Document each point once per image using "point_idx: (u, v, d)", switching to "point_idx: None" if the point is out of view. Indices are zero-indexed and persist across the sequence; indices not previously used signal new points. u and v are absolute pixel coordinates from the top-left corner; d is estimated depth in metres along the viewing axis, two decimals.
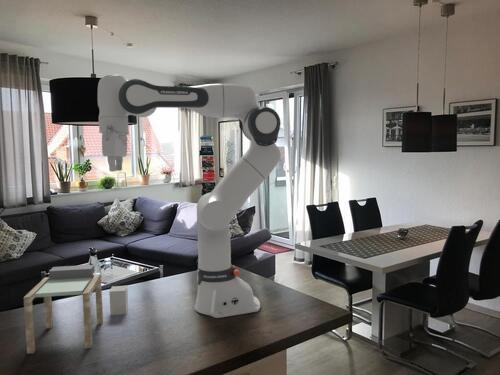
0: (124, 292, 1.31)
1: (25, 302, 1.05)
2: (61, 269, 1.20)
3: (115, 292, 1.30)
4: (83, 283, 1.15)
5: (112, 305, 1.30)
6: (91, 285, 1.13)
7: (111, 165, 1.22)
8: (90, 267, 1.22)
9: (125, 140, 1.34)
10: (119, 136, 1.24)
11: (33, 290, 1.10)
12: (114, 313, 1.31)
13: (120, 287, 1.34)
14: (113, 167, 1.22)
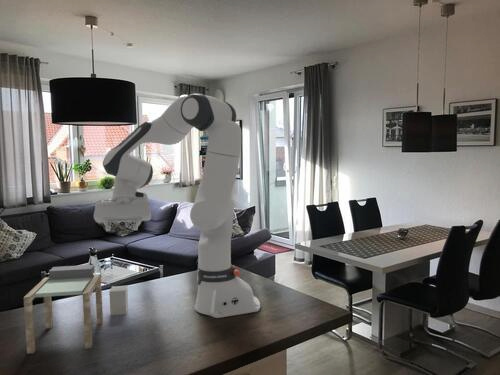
0: (124, 292, 1.31)
1: (25, 302, 1.05)
2: (61, 269, 1.20)
3: (115, 292, 1.30)
4: (83, 283, 1.15)
5: (112, 305, 1.30)
6: (91, 285, 1.13)
7: None
8: (90, 267, 1.22)
9: (144, 203, 1.49)
10: (116, 202, 1.48)
11: (33, 290, 1.10)
12: (114, 313, 1.31)
13: (120, 287, 1.34)
14: (106, 227, 1.43)
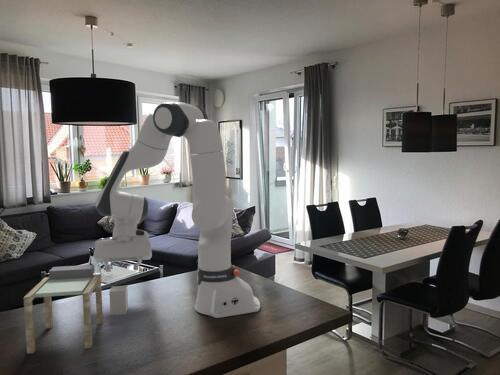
0: (124, 292, 1.31)
1: (25, 302, 1.05)
2: (61, 269, 1.20)
3: (115, 292, 1.30)
4: (83, 283, 1.15)
5: (112, 305, 1.30)
6: (91, 285, 1.13)
7: None
8: (90, 267, 1.22)
9: (144, 242, 1.47)
10: (116, 241, 1.46)
11: (33, 290, 1.10)
12: (114, 313, 1.31)
13: (120, 287, 1.34)
14: (106, 267, 1.40)
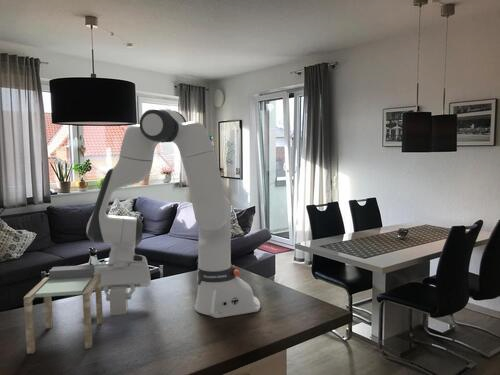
0: (124, 292, 1.31)
1: (25, 302, 1.05)
2: (61, 269, 1.20)
3: (115, 292, 1.30)
4: (83, 283, 1.15)
5: (112, 305, 1.30)
6: (91, 285, 1.13)
7: (106, 295, 1.33)
8: (90, 267, 1.22)
9: (142, 268, 1.38)
10: (113, 267, 1.37)
11: (33, 290, 1.10)
12: (114, 313, 1.31)
13: (120, 287, 1.34)
14: (106, 296, 1.32)
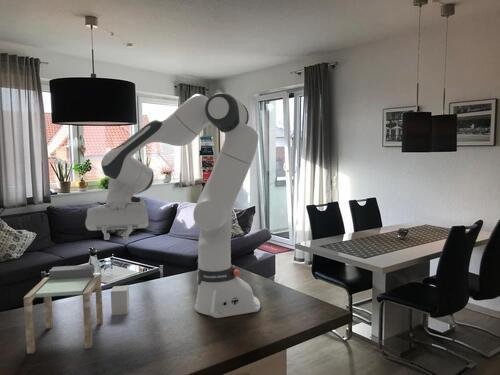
0: (125, 292, 1.31)
1: (25, 302, 1.05)
2: (61, 269, 1.20)
3: (116, 292, 1.30)
4: (83, 283, 1.15)
5: (113, 305, 1.30)
6: (91, 285, 1.13)
7: (104, 234, 1.31)
8: (90, 267, 1.22)
9: (140, 209, 1.36)
10: (110, 208, 1.35)
11: (33, 290, 1.10)
12: (115, 313, 1.31)
13: (121, 287, 1.34)
14: None
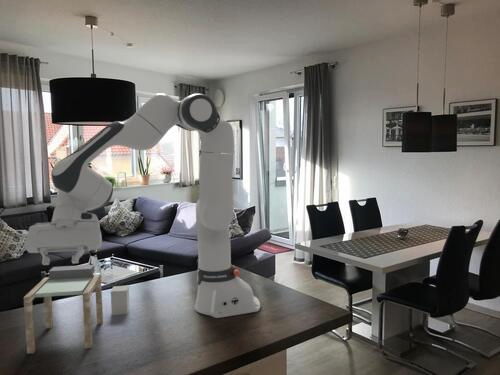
0: (125, 292, 1.31)
1: (25, 302, 1.05)
2: (61, 269, 1.20)
3: (116, 292, 1.30)
4: (83, 283, 1.15)
5: (113, 305, 1.30)
6: (91, 285, 1.13)
7: (43, 258, 1.10)
8: (90, 267, 1.22)
9: (92, 227, 1.16)
10: (55, 226, 1.15)
11: (33, 290, 1.10)
12: (115, 313, 1.31)
13: (121, 287, 1.34)
14: None
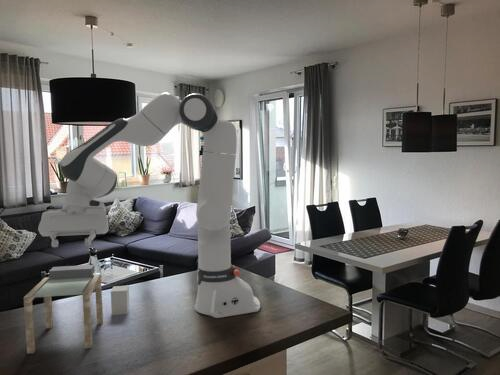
0: (125, 292, 1.31)
1: (25, 302, 1.05)
2: (61, 269, 1.20)
3: (116, 292, 1.30)
4: (83, 283, 1.15)
5: (113, 305, 1.30)
6: (91, 285, 1.13)
7: (52, 241, 1.21)
8: (90, 267, 1.22)
9: (99, 213, 1.27)
10: (66, 212, 1.26)
11: (33, 290, 1.10)
12: (115, 313, 1.31)
13: (121, 287, 1.34)
14: None
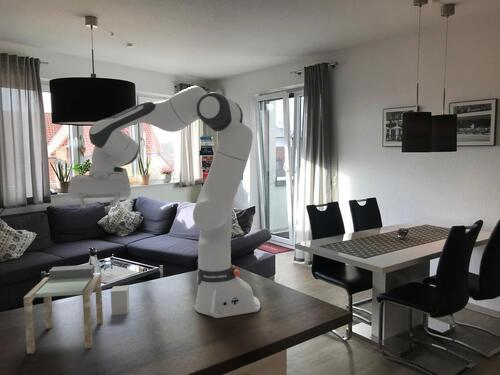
0: (125, 292, 1.31)
1: (25, 302, 1.05)
2: (61, 269, 1.20)
3: (116, 292, 1.30)
4: (83, 283, 1.15)
5: (113, 305, 1.30)
6: (91, 285, 1.13)
7: None
8: (90, 267, 1.22)
9: (123, 178, 1.38)
10: (93, 177, 1.37)
11: (33, 290, 1.10)
12: (115, 313, 1.31)
13: (121, 287, 1.34)
14: None
